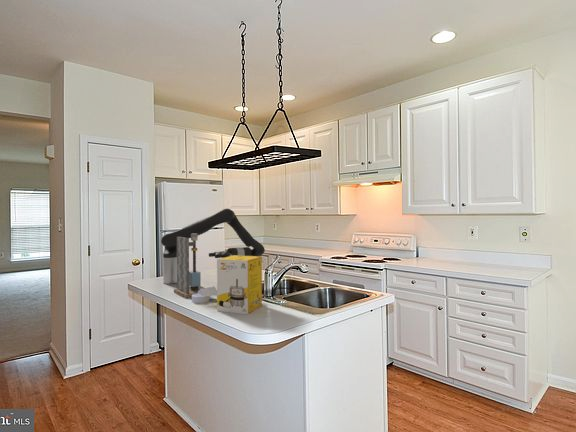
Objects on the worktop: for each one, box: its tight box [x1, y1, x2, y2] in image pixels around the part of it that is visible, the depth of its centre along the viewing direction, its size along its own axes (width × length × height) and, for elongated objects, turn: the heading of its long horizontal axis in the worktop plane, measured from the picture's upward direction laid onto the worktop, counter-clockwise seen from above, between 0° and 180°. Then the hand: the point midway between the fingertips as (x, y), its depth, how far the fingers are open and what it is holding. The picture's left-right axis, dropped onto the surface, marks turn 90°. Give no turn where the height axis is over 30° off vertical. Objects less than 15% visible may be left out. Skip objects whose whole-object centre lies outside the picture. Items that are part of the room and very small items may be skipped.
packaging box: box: [216, 255, 263, 315], centre depth 176 cm, size 16×16×25 cm
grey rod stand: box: [173, 233, 205, 299], centre depth 208 cm, size 18×16×35 cm
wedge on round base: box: [191, 286, 217, 304], centre depth 192 cm, size 9×7×13 cm
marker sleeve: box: [189, 270, 202, 287], centre depth 208 cm, size 5×5×8 cm
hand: (211, 255), depth 215 cm, fingers open, 8 cm apart
